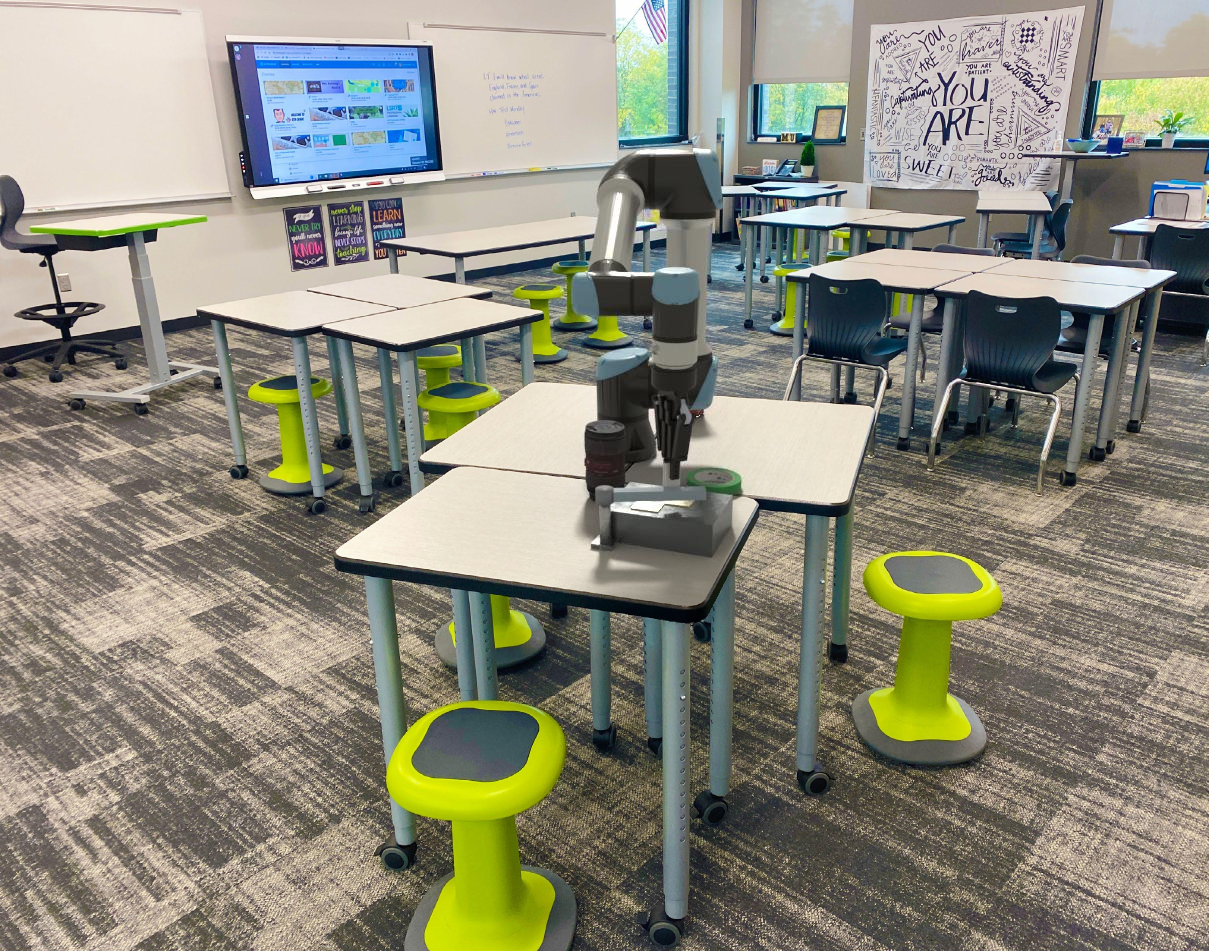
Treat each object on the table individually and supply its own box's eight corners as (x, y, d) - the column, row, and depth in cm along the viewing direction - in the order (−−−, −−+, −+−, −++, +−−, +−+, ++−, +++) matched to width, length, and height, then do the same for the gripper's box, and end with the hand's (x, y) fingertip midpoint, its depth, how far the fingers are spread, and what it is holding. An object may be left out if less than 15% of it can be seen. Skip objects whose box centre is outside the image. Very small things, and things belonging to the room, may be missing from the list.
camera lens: (597, 507, 173) (595, 434, 167) (579, 494, 179) (576, 423, 174) (633, 499, 176) (633, 428, 171) (614, 486, 183) (613, 417, 177)
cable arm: (595, 505, 153) (595, 492, 152) (595, 498, 156) (595, 485, 155) (706, 503, 153) (706, 490, 152) (704, 495, 156) (704, 483, 155)
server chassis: (590, 547, 156) (589, 505, 153) (625, 510, 171) (625, 471, 168) (706, 566, 149) (707, 522, 146) (731, 525, 164) (733, 485, 161)
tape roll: (748, 484, 184) (749, 472, 183) (729, 502, 174) (730, 490, 174) (699, 475, 188) (699, 463, 188) (678, 493, 179) (678, 481, 178)
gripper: (638, 356, 152) (637, 484, 160) (669, 375, 141) (666, 511, 149) (678, 353, 154) (675, 478, 163) (711, 370, 143) (706, 504, 152)
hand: (671, 494), depth 156 cm, fingers closed
